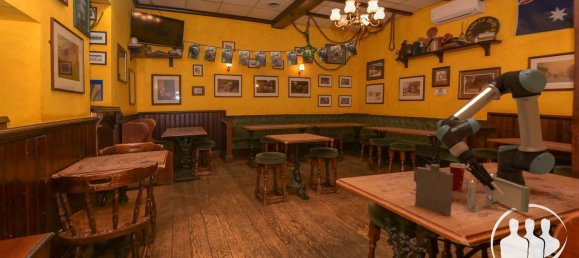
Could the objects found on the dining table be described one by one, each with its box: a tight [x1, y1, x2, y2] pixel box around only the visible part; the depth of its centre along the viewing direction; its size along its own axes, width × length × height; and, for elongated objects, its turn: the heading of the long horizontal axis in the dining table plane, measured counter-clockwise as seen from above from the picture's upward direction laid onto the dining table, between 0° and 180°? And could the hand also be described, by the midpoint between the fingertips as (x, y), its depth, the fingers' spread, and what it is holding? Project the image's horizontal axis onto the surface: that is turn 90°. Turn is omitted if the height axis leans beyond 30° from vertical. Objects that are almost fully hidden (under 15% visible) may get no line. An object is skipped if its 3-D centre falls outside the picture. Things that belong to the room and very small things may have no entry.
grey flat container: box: [413, 163, 431, 182], centre depth 178 cm, size 11×3×10 cm, turn 113°
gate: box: [493, 178, 531, 214], centre depth 130 cm, size 18×2×10 cm, turn 3°
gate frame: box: [462, 172, 498, 213], centre depth 135 cm, size 25×5×13 cm, turn 127°
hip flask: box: [414, 163, 453, 217], centre depth 128 cm, size 16×4×20 cm, turn 32°
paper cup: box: [449, 162, 467, 192], centre depth 160 cm, size 8×8×14 cm
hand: (500, 196), depth 129 cm, fingers closed
